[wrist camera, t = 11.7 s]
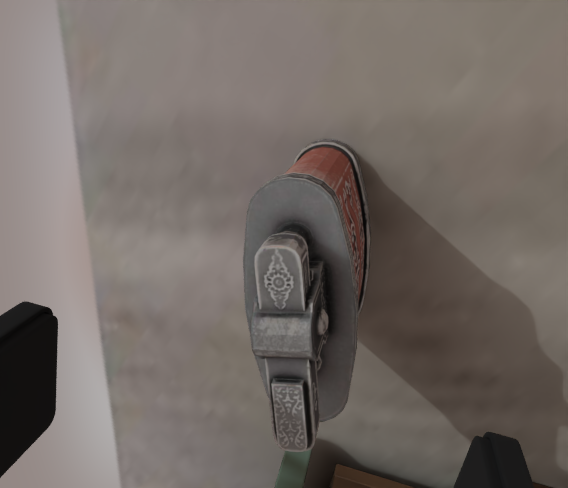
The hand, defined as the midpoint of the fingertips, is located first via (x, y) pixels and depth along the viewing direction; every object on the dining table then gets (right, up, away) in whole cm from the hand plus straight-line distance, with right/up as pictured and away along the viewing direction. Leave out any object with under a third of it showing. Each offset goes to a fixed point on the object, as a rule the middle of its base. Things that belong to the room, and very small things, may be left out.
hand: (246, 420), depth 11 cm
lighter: (+3, +4, +11) cm, 12 cm away
